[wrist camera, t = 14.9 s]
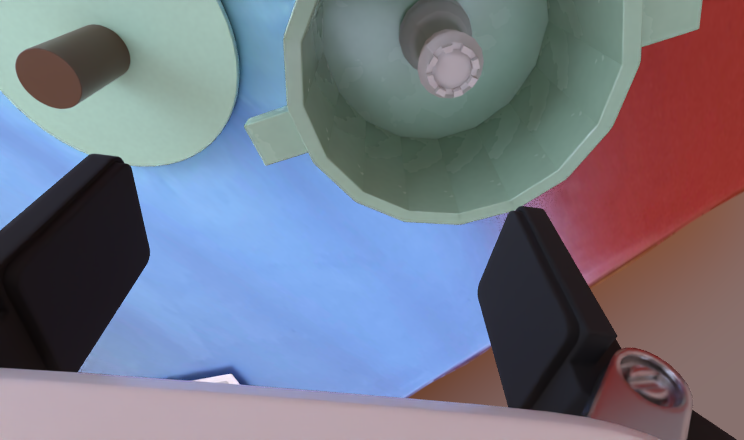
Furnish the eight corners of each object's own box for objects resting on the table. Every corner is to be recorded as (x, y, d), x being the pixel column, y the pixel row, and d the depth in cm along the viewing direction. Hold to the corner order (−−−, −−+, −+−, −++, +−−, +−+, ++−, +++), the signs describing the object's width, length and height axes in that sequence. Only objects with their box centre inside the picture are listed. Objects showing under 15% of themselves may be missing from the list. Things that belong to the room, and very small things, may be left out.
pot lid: (-101, -48, 24) (-238, -36, 19) (139, -172, 21) (57, -203, 16) (97, 183, 34) (43, 236, 28) (283, 121, 30) (264, 167, 25)
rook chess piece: (384, 40, 27) (387, 81, 20) (431, -24, 25) (452, -2, 18) (435, 83, 28) (454, 133, 22) (484, 26, 26) (520, 63, 20)
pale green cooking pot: (226, -39, 24) (155, -15, 16) (602, -200, 20) (750, -272, 12) (327, 178, 33) (313, 263, 25) (604, 95, 29) (692, 164, 21)
